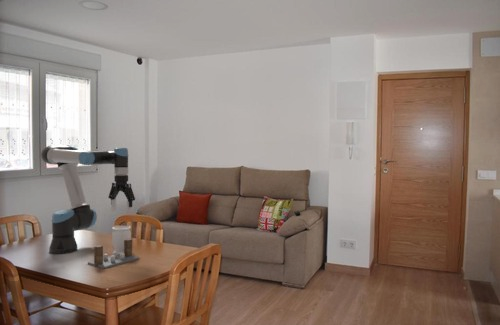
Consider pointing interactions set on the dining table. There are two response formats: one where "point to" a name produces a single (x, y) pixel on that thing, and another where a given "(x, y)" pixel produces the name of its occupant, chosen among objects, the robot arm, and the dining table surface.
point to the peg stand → (114, 260)
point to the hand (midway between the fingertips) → (121, 211)
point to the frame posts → (99, 252)
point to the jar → (120, 237)
